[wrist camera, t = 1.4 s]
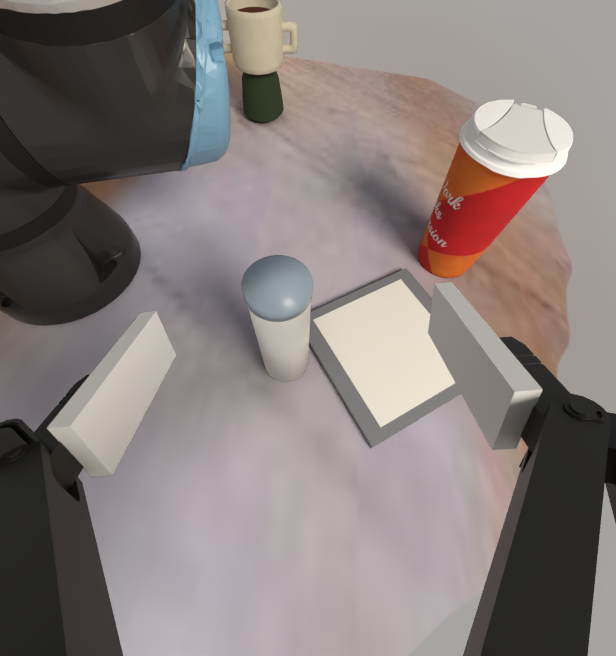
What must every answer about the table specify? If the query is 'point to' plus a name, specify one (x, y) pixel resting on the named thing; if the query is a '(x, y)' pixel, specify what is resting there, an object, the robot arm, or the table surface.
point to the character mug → (259, 53)
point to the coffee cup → (491, 181)
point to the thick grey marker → (280, 313)
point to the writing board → (382, 355)
